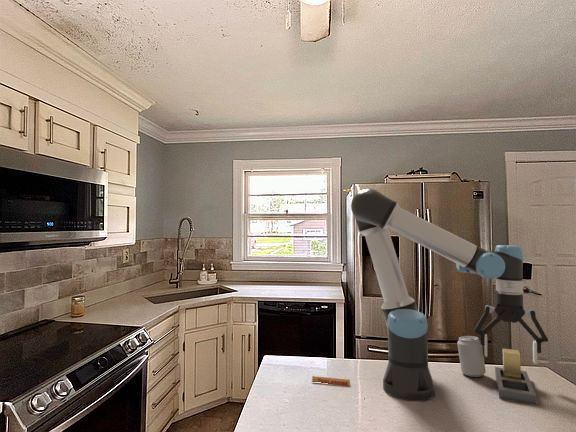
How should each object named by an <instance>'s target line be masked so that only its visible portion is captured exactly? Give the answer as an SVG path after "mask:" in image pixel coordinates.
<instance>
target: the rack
mask: <svg viewBox="0 0 576 432" xmlns="http://www.w3.org/2000/svg"><path fill="white" fill-rule="evenodd" d="M494 375H495V380H496V387H497V393H498V398H499V399H502V400H507V401H513V402H518V403H524V404H528V405H529V404H530V405H535V406H536V405H537V395H536V392H535V390H534V387H533V384H532V382H531V380H530V377H529V375H528V371H524V370H521V380H520V379H513V378H506V377H503V367H496V366H494Z"/></svg>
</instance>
